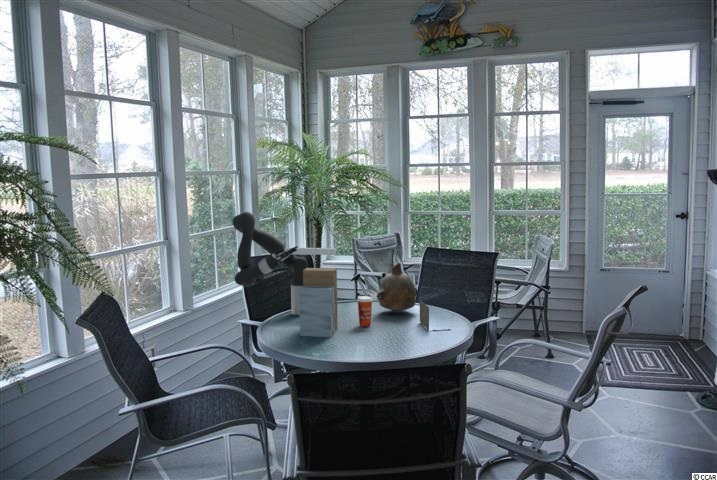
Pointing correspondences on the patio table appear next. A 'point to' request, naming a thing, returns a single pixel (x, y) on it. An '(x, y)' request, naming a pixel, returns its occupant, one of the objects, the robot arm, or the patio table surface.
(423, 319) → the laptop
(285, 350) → the patio table surface
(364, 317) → the coffee cup
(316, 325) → the display riser
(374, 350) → the patio table surface
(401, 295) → the jug
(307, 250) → the aluminium bar
